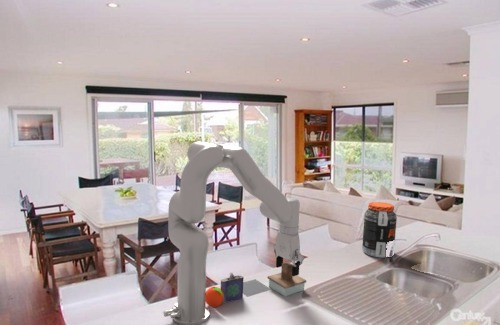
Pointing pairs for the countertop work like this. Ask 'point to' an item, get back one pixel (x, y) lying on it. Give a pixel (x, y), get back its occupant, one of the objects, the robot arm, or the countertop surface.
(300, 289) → the dish
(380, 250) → the supplement tub
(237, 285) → the flask
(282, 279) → the lid
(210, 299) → the clementine
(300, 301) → the countertop surface
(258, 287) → the mat
